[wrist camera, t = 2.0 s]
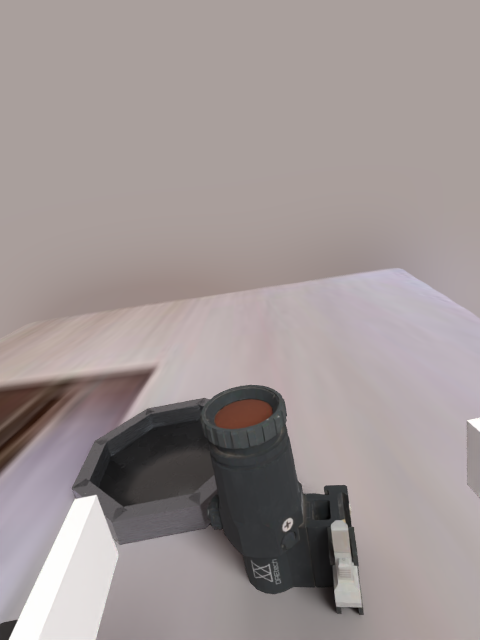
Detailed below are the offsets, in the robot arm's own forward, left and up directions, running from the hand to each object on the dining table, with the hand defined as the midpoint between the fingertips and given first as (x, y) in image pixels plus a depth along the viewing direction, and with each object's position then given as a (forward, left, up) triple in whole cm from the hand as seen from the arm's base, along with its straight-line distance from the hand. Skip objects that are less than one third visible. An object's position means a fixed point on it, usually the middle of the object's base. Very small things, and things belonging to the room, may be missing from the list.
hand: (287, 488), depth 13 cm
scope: (0, +10, -17) cm, 19 cm away
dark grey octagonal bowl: (-10, +24, -16) cm, 31 cm away
